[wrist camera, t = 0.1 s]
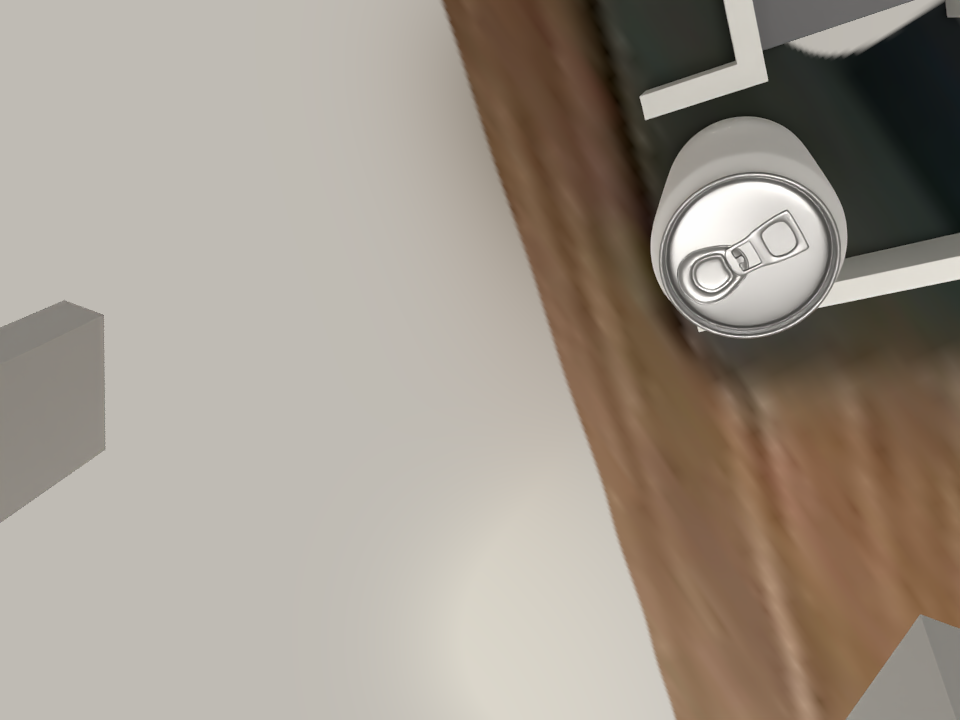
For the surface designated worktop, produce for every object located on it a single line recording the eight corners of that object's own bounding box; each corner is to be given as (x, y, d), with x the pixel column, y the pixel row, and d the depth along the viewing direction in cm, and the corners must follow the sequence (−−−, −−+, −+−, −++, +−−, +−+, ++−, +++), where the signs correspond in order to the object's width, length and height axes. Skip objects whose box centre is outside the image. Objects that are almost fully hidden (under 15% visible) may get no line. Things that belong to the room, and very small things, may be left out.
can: (641, 165, 36) (609, 227, 25) (770, 84, 33) (795, 115, 22) (709, 277, 37) (705, 381, 26) (839, 208, 34) (894, 293, 23)
